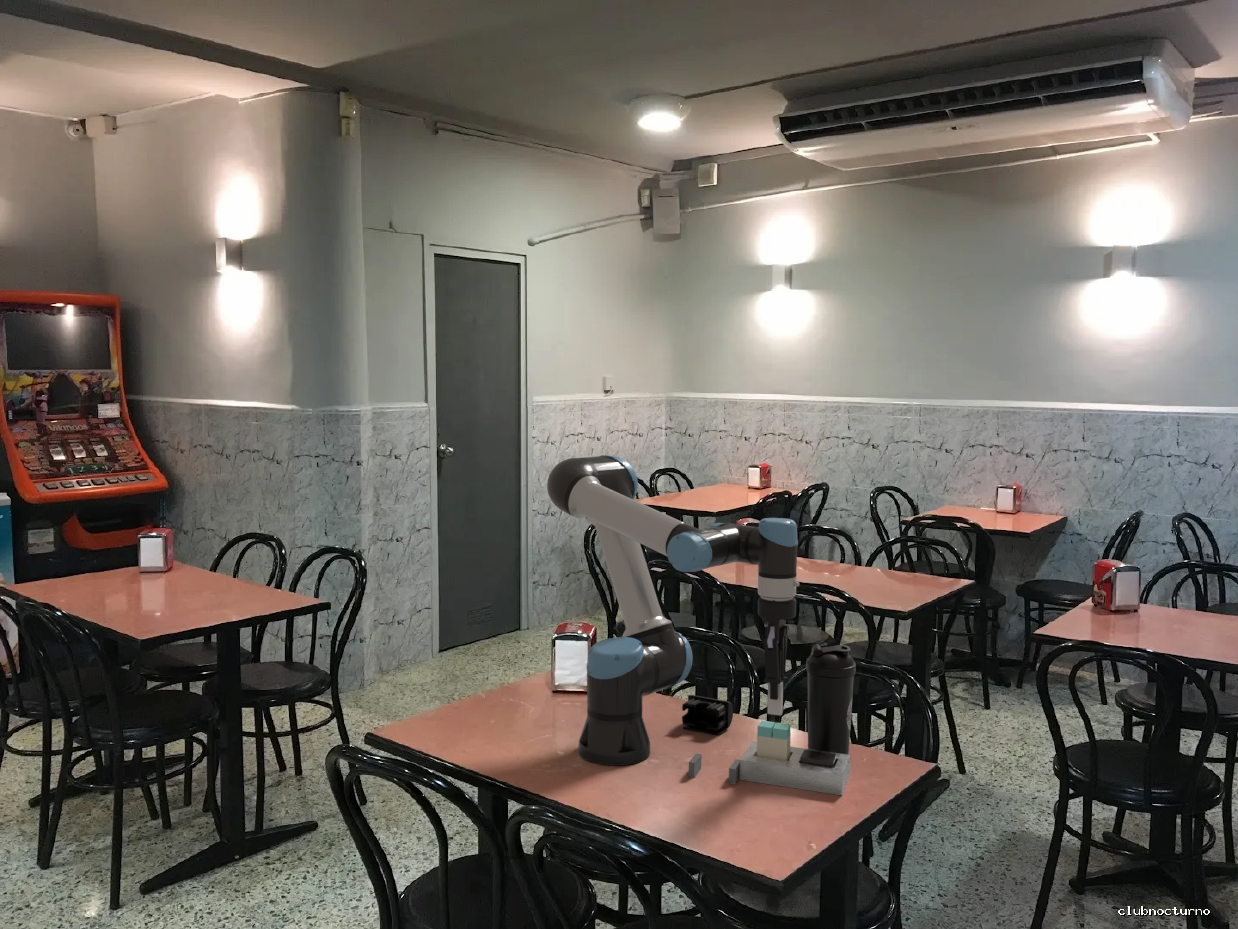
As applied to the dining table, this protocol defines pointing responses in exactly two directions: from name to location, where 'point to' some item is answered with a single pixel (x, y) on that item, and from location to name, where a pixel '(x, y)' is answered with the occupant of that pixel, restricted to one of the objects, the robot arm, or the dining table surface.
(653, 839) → the dining table surface
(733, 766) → the pair of grey blocks
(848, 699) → the water bottle
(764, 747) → the plug
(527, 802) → the dining table surface
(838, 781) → the panel
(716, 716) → the end cap
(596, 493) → the robot arm
